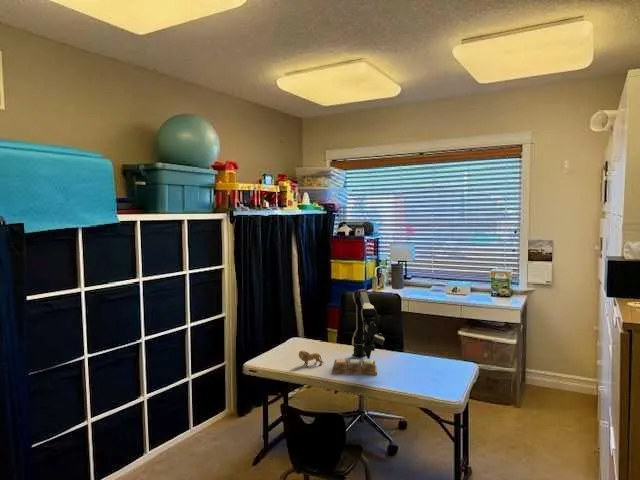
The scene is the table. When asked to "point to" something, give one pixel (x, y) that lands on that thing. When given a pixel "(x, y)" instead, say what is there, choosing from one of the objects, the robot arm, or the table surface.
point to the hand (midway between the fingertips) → (368, 358)
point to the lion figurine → (310, 357)
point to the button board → (355, 368)
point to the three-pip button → (341, 361)
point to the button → (354, 361)
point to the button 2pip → (368, 362)
